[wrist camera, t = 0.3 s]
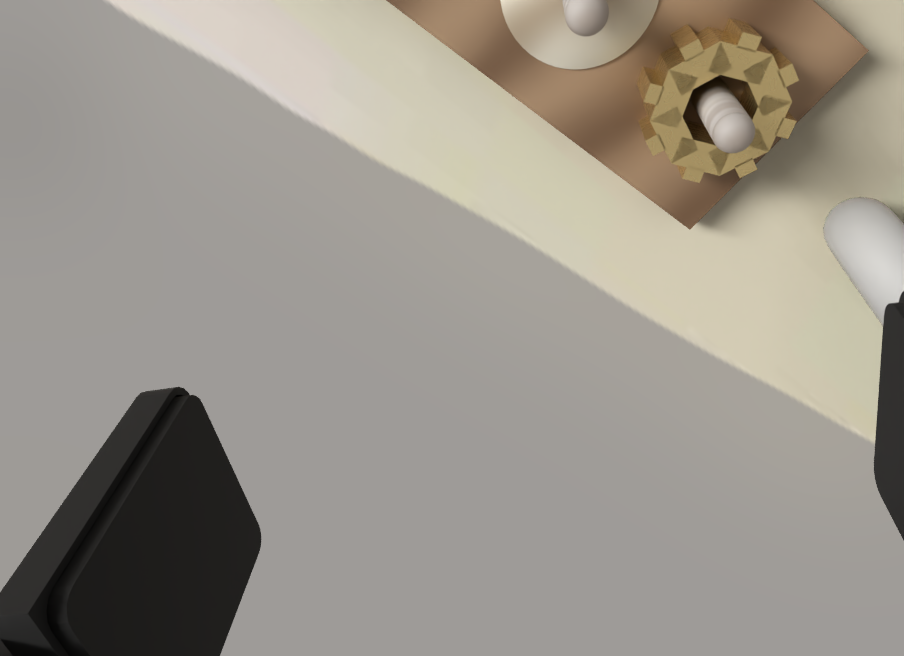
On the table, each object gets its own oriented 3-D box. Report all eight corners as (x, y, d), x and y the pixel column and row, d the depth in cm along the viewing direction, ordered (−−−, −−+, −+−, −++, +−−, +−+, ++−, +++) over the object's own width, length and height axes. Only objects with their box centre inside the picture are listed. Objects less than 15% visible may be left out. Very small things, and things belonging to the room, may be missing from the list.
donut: (930, 282, 47) (1016, 383, 39) (873, 313, 49) (944, 417, 40) (850, 155, 44) (925, 236, 35) (791, 192, 45) (850, 279, 37)
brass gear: (615, 142, 42) (621, 163, 40) (666, 1, 38) (675, 14, 36) (746, 175, 43) (759, 198, 40) (809, 39, 39) (828, 54, 36)
